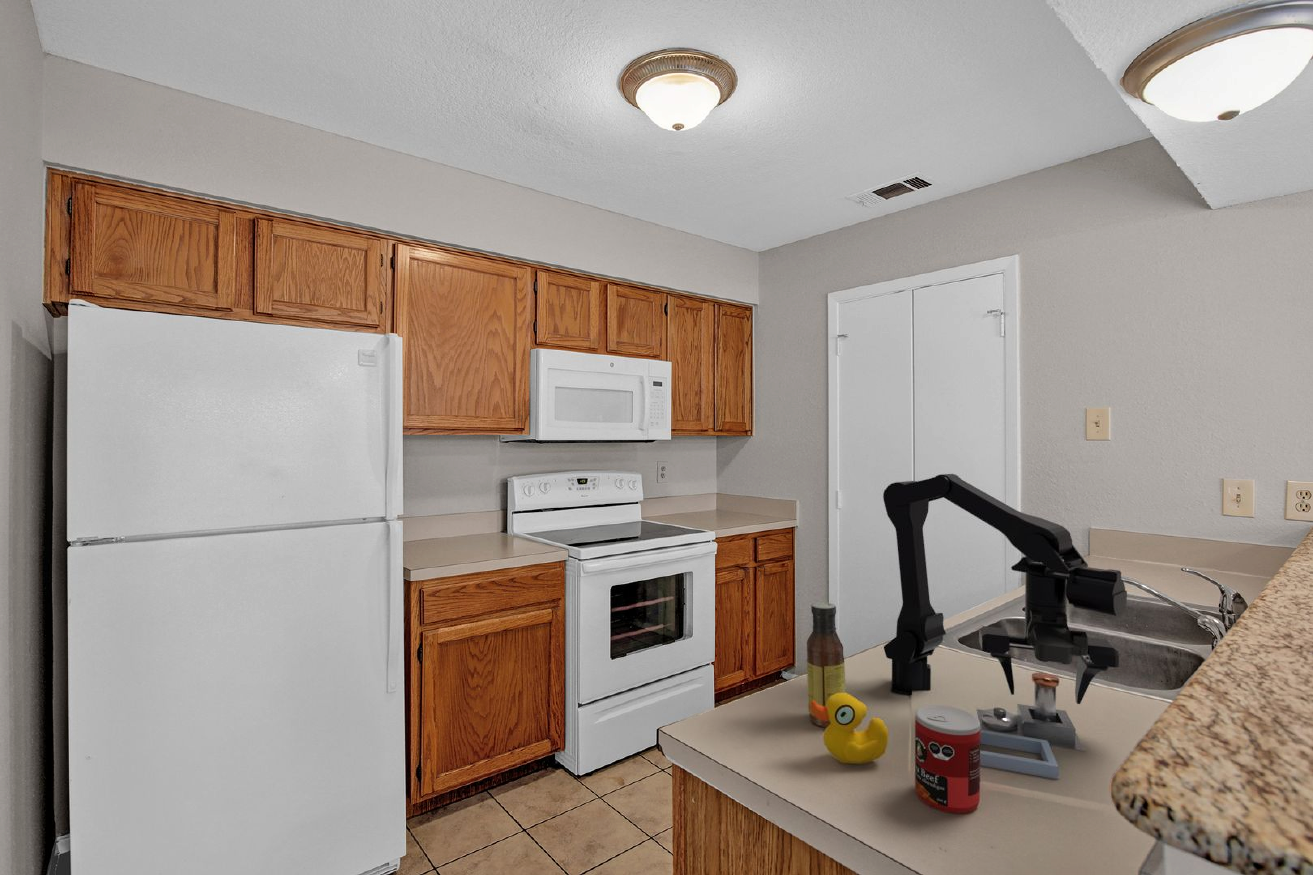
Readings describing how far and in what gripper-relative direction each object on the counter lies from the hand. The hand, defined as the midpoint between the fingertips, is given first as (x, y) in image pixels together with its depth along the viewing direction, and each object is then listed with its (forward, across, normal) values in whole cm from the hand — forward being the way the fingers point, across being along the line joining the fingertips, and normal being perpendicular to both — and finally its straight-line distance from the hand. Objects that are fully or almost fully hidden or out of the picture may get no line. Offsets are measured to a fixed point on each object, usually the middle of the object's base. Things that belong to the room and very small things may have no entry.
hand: (1044, 698), depth 103 cm
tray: (+6, -6, -12) cm, 15 cm away
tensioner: (+6, -2, 0) cm, 7 cm away
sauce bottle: (+6, -33, -8) cm, 35 cm away
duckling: (+6, -28, -20) cm, 35 cm away
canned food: (+6, -15, -25) cm, 30 cm away
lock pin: (+5, 0, 0) cm, 5 cm away
